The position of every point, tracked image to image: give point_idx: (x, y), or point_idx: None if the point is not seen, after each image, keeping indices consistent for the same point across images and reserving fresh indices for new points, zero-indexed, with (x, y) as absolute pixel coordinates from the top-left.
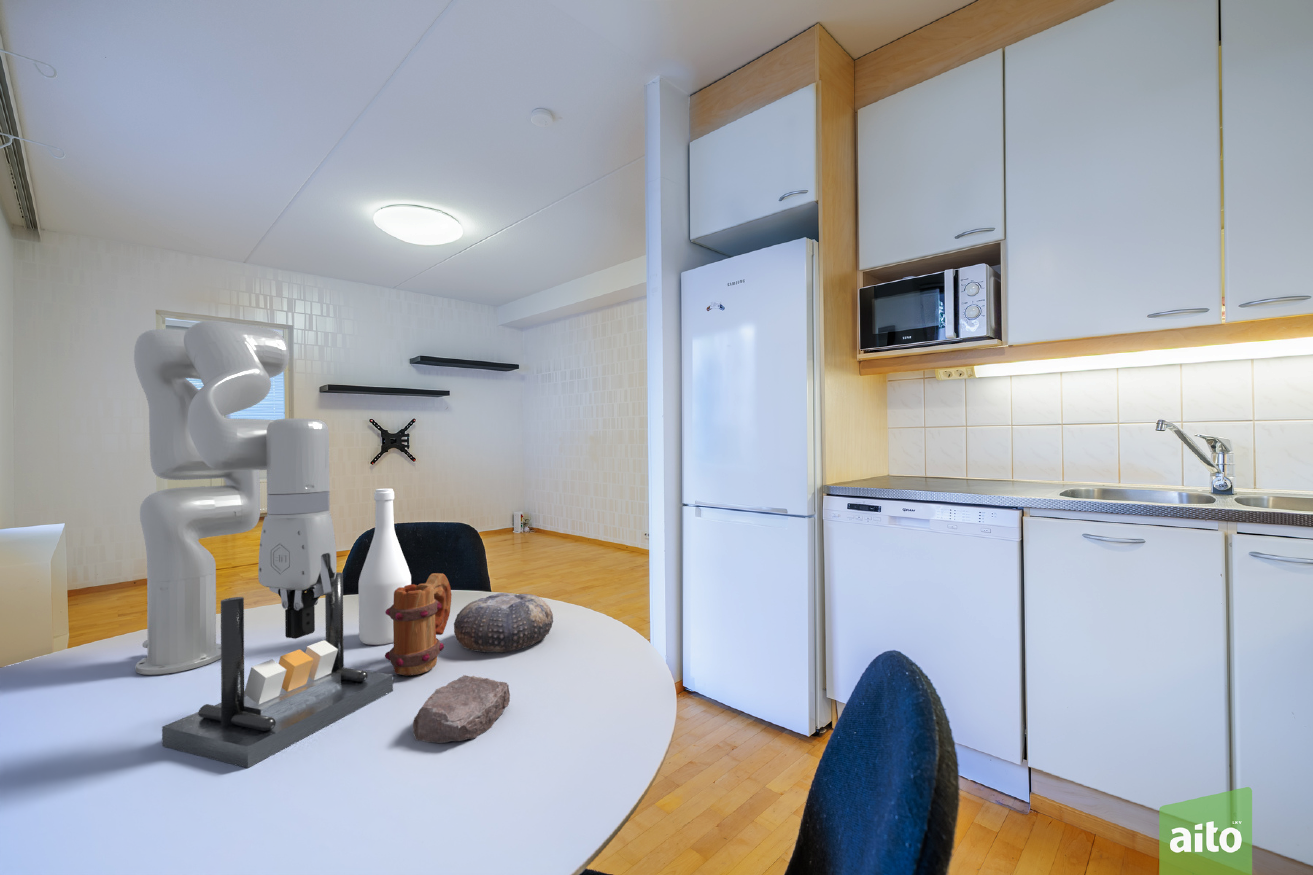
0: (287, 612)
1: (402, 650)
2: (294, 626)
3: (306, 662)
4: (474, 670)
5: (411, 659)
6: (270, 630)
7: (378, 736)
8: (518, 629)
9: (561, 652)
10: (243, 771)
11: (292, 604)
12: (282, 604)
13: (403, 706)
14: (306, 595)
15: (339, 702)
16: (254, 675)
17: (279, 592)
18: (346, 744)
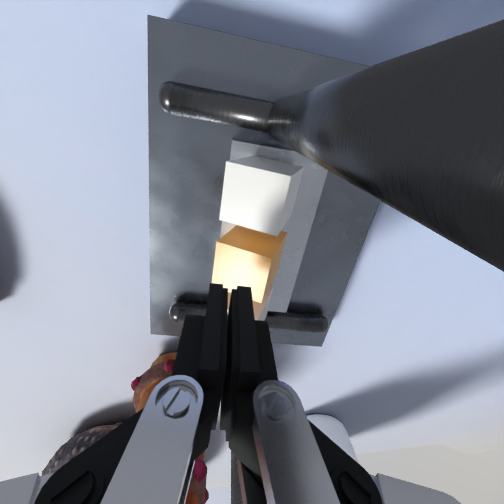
0: (241, 358)
1: None
2: (207, 313)
3: (214, 269)
4: (91, 381)
5: (151, 373)
6: (496, 423)
7: (29, 182)
8: (52, 468)
9: (16, 437)
10: (156, 14)
11: (241, 410)
12: (294, 401)
13: (91, 277)
14: (91, 484)
15: (150, 236)
16: (274, 169)
17: (358, 486)
18: (58, 147)
